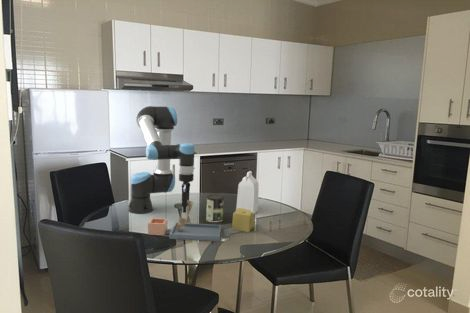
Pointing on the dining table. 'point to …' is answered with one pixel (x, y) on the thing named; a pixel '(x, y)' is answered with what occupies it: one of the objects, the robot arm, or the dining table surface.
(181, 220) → the light wooden bar
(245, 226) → the cheese
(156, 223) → the pink open cubby
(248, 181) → the milk
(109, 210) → the dining table surface
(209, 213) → the coffee can
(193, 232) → the slate tray
